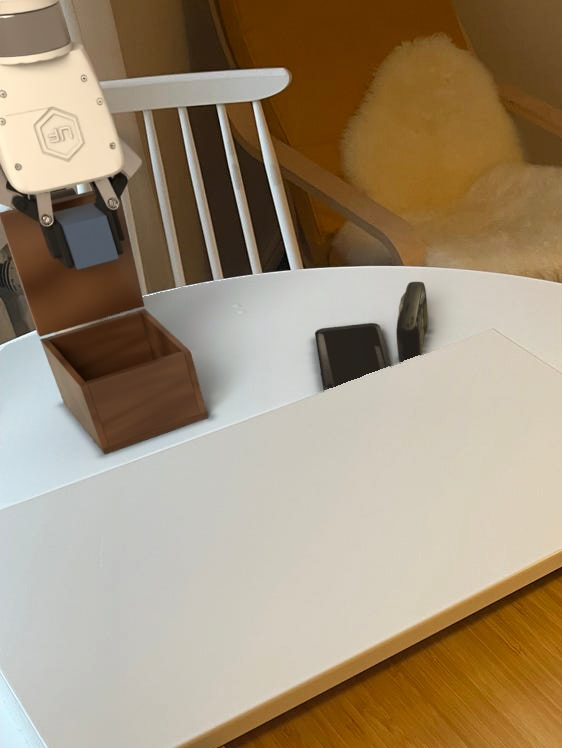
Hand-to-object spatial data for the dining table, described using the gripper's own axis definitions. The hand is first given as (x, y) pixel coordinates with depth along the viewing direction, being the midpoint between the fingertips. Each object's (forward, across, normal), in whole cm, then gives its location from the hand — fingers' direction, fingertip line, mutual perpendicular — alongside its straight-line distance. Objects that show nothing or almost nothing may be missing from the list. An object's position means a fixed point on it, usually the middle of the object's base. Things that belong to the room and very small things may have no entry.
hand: (90, 254), depth 89 cm
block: (0, 0, 0) cm, 0 cm away
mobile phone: (+18, +33, -4) cm, 37 cm away
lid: (+3, 0, +6) cm, 6 cm away
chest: (+17, 0, +1) cm, 17 cm away
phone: (+17, +24, -5) cm, 30 cm away
